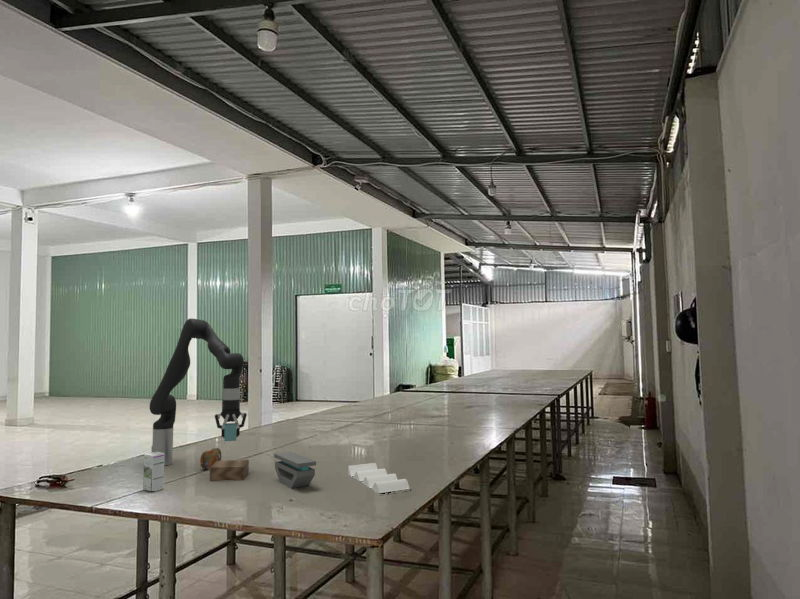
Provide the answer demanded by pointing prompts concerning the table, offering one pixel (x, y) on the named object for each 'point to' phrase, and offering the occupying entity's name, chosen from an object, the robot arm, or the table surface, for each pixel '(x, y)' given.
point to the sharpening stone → (294, 469)
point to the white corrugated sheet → (377, 478)
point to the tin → (210, 457)
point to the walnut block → (229, 470)
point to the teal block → (230, 432)
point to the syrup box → (153, 471)
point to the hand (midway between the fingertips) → (230, 437)
